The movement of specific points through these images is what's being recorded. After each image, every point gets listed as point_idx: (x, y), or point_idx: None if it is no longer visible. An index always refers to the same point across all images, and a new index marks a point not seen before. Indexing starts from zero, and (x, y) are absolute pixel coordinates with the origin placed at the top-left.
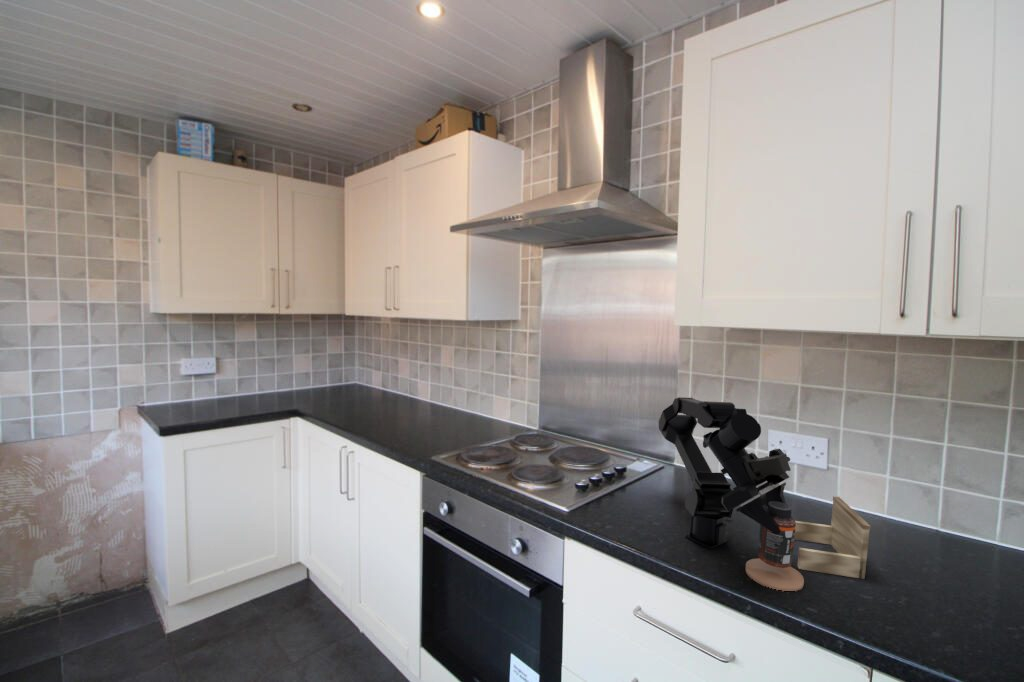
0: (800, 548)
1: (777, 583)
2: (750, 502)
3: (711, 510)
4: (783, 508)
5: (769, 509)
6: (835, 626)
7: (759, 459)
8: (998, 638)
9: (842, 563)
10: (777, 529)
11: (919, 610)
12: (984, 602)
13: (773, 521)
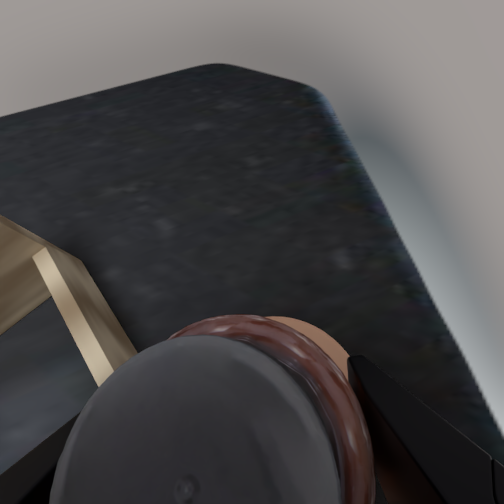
0: None
1: (338, 360)
2: None
3: None
4: (255, 391)
5: None
6: (356, 204)
7: None
8: (135, 93)
9: (79, 286)
10: (380, 370)
11: (138, 163)
12: (24, 134)
13: (421, 408)
